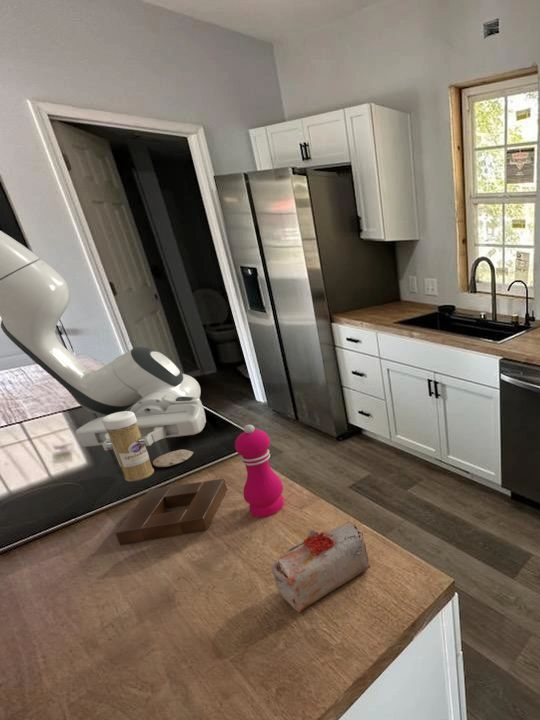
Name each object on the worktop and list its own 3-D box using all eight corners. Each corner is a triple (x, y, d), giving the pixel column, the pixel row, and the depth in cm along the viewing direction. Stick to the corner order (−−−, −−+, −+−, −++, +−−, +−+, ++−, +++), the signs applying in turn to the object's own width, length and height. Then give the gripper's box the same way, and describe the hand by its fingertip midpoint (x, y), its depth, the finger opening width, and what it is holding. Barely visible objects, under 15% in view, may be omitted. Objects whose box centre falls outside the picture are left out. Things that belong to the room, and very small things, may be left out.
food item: (294, 622, 64) (283, 574, 60) (274, 592, 68) (263, 546, 65) (374, 571, 73) (368, 527, 69) (352, 549, 78) (345, 506, 74)
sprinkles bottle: (140, 483, 80) (116, 421, 75) (118, 481, 80) (94, 420, 75) (161, 470, 84) (140, 410, 79) (140, 468, 84) (118, 409, 79)
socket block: (120, 545, 77) (114, 532, 76) (153, 500, 90) (149, 489, 89) (207, 530, 82) (203, 518, 81) (227, 489, 94) (224, 478, 93)
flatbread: (159, 472, 99) (157, 468, 99) (149, 461, 104) (148, 457, 103) (198, 458, 106) (197, 454, 105) (187, 448, 110) (186, 445, 109)
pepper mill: (251, 501, 90) (231, 419, 83) (288, 494, 93) (271, 415, 85) (244, 522, 84) (222, 436, 77) (284, 514, 86) (266, 430, 79)
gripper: (93, 406, 86) (49, 438, 74) (207, 396, 93) (184, 423, 80) (104, 433, 89) (63, 467, 77) (214, 421, 95) (192, 451, 83)
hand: (126, 445), depth 79 cm, fingers closed on sprinkles bottle, 4 cm apart
